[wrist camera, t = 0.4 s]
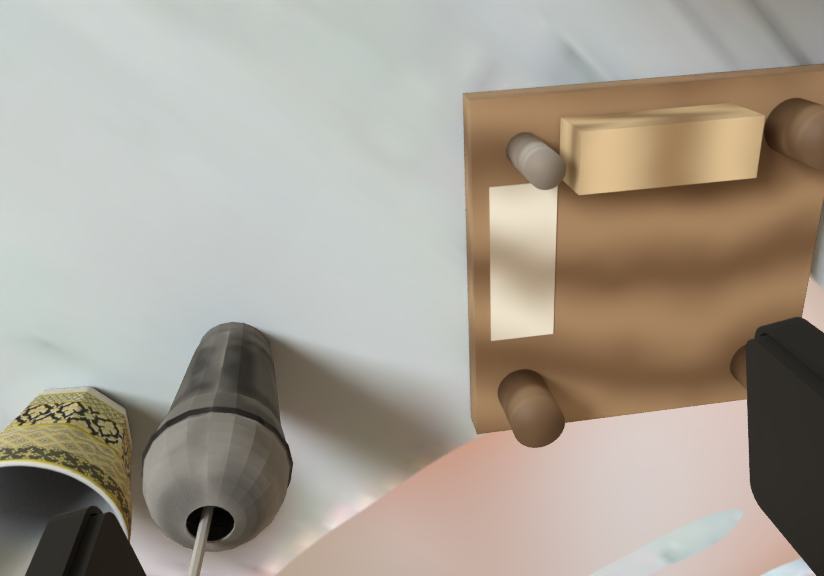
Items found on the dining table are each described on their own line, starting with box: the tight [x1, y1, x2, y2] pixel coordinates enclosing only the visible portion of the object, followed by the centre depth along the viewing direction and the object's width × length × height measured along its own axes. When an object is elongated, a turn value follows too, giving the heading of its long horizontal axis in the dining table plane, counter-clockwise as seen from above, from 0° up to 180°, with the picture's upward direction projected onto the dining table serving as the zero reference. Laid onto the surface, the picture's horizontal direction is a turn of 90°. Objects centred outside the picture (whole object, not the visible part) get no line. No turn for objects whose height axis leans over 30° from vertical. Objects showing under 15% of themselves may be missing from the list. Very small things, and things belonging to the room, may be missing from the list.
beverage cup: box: [142, 322, 293, 576], centre depth 39 cm, size 7×7×20 cm
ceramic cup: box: [0, 387, 132, 576], centre depth 44 cm, size 13×10×10 cm
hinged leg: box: [560, 103, 765, 195], centre depth 42 cm, size 10×3×3 cm, turn 93°
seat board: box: [463, 64, 824, 448], centre depth 46 cm, size 22×22×6 cm
